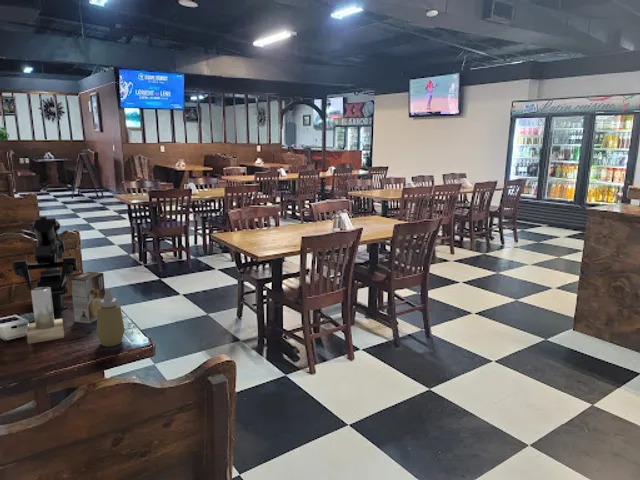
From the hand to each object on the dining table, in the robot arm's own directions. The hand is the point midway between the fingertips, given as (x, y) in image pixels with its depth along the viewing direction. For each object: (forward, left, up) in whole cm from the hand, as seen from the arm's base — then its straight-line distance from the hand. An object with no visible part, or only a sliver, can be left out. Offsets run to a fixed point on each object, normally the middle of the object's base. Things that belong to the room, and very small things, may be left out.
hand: (45, 287), depth 155 cm
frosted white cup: (+7, +4, -11) cm, 13 cm away
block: (+7, +4, -14) cm, 16 cm away
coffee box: (-9, +9, -14) cm, 19 cm away
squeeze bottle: (+8, +28, -14) cm, 32 cm away
